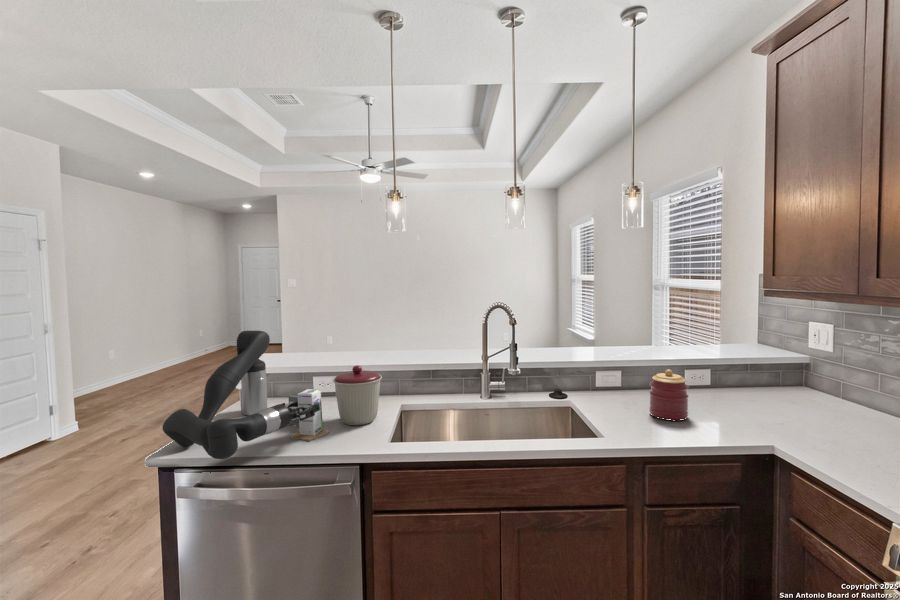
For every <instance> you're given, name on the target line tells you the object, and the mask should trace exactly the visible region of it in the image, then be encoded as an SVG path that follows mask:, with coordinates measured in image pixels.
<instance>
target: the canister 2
mask: <svg viewBox="0 0 900 600" xmlns="http://www.w3.org/2000/svg"><path fill="white" fill-rule="evenodd" d="M651 378H652V381H650V382H649V386H650V390H649V407H648V408H649V414H652V415H653V416H655V417H659V418H664V419H671V420H680V419H685V418H687V419H688V417H689V407H688V406H689V394H688V389H689V388H690V386H689V384H687V383H686V382H687V379H685V378H684V377H683V376H682V375H679V374H676V373H673V370H671V369H670V368H669V369H665V370H664V372H659V373H656V374H655V375H653V376H652V377H651ZM653 416H652V417H653ZM655 417H654V418H655Z"/></svg>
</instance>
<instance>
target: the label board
mask: <svg viewBox="0 0 900 600" xmlns="http://www.w3.org/2000/svg"><path fill="white" fill-rule="evenodd" d="M296 401H298V395H292V394H291V395H288V403H293V402H296ZM293 425H296V426H295V427H299V418H296V419H295V420H291V421H290V423H289V425H288V426H293Z"/></svg>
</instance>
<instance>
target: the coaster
mask: <svg viewBox="0 0 900 600" xmlns="http://www.w3.org/2000/svg"><path fill="white" fill-rule="evenodd" d="M329 431H330V430H327V429H323V430H321V431H320V432H318V433H317V434H315V436H311V435H301V434H300V430H299V431H297V432H295V433H293V434H291V435H289V438H290V437H292V438H291V439H295V438H297V439H296V440H300V439H302V440H301V441H305V440H308V441H307V442H312V441H314V440H316V439H318V438H320V437H322V436H324V435H326V434H328V433H329ZM327 432H328V433H327ZM325 433H326V434H325ZM323 434H324V435H323ZM321 435H322V436H321ZM319 436H320V437H319ZM317 437H318V438H317ZM315 438H316V439H315ZM313 439H314V440H313ZM311 440H312V441H311Z"/></svg>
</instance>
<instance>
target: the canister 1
mask: <svg viewBox="0 0 900 600" xmlns="http://www.w3.org/2000/svg"><path fill="white" fill-rule="evenodd" d="M382 378H383V376H382V375H381V374H379V373H378V372H376V371H372V370H363V367H362V366H361V365H354V366H353V367H352V371H351V370H350V371H345V372H342V373H340V374H337V375H336V376H335V377H333V378H332V382H333V384H334V389H335V396H336V403H337V404H336V405H337V409H338V415H339V418H340V421H341V422H342V423H343V424H345V425H348V426H362V425H367V424H370V423H372V422H373V421H374V420H376V418H377V416H378V411H379V409H378V408H379V398H380V389H381V388H380V387H381V380H382Z"/></svg>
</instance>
